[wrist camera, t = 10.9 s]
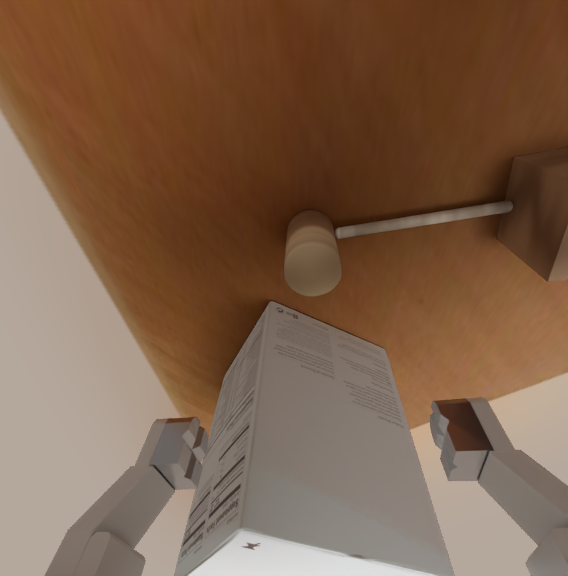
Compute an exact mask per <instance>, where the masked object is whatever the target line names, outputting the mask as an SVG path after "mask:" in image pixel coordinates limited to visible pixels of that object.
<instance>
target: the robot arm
mask: <svg viewBox="0 0 568 576" xmlns="http://www.w3.org/2000/svg"><path fill="white" fill-rule="evenodd" d="M431 408H432V410H433V413H432V414H431V415H430V427H431V433H432V436H433V439H434V442H435V445H436V446H438V447H439V448H440V449H441V450H442V452H441V458H440V459H441V462H442V464H443V467H444V470H445V473H446V476H447V478H448V481H478V483H479V484H480V485H481V486H482V487H483V488H484V489H485V490H486V491H487V493H488V494H489V495H490V496H491V497H492V498H493V499H494V500H495V501H496V502H497V503H498V504H499V505H500V506H501V507H502V508H503V509H504V510H505V511H506V512H507V513H508V515H510V516H511V518H512V519H513V520H514V521H515V522H516V523H517V524H518V525H519V526H520V527H521V528H522V529H523V530H524V531H525V532H526V533H527V534H528V535H529V536H530V537H531V538H532V540H533V541H534V542H535V543H536V544H537V545H538V547H537V548H536V549H535V551H534V552H533V553H532V554H531V555H530V556H529V558H528V560H527V562H526V565H527V568H528V570H529V572H530V574H531V576H568V486H567V485H566V484H564V483H563V482H562V481H560V480H559V479H558V478H557V477H555V476H554V475H553V474H551V473H550V472H549V471H548V470H546V469H545V468H543V467H542V466H541V465H540V464H538V463H537V462H536V461H534V460H533V459H532V458H531V457H529V456H528V455H527V454H525V453H524V452H523V451H521V450H515V449H514V447H513V445H512V444H511V442H510V440H509V438H508V437H507V435H506V433H505V431H504V429H503V428H502V426H501V424H500V422H499V421H498V419H497V417H496V415H495V413H494V412H493V410H492V408H491V407H490V405H489V403H488V401H487V400H486V399H485V398H482V397H481V398H468V399H465V398H464V399H452V400H440V401H433V402H432V407H431ZM207 448H208V435H207V432H206V430H205V429H204V428H202V427H201V426H200V420H199V419H198V418H197V417H188V418H170V419H157V420H156V421H155V422H154V423H153V424H152V426H151V429H150V431H149V434H148V436H147V438H146V441H145V443H144V445H143V448H142V450H141V452H140V455H139V457H138V460H137V462H136V464H135V466H132V467H130V468H129V469H128V470H127V471H126V472H125V473H124V474H123V475H122V476H121V477H120V478H119V479H118V480H117V481H116V482H115V483H114V484H113V485H112V486H111V487H110V488H109V489H108V490H107V491H106V492H105V493H104V494H103V495H102V496H101V497H100V498H99V499H98V500H97V501H96V502H95V503H94V504H93V505H92V506H91V507H90V508H89V510H87V511H86V512H85V513H84V514H83V515H82V516H81V518H79V519H78V520H77V522H76V523H75V524H74V525H73V526H72V527H71V528H70V529H69V530H68V531H67V533H66V535H65V537H64V539H63V541H62V543H61V545H60V547H59V549H58V551H57V553H56V554H55V556H54V559H53V560H52V562H51V564H50V566H49V568H48V570H47V572H46V574H45V576H141V574H142V571H143V568H144V564H145V558H144V556H143V555H141V554H140V553H138V552H137V551H135V550H134V548H135V546H136V545H137V544H138V542H139V541H140V540H141V538H142V537H143V535H144V534H145V533H146V531H147V530H148V528H149V527H150V525H151V524H152V523H153V522H154V520H155V519H156V517H157V516H158V514H159V513H160V512H161V510H162V509H163V508H164V506H165V505H166V503H167V502H168V501H169V499H170V498H171V497H172V495H173V494H174V492H175V490H180V489H197V488H198V485H199V481H200V477H201V473H202V469H203V468H202V465H201V463H200V462H201V460H202V459H203V458H204V457H205V456H206V453H207Z"/></svg>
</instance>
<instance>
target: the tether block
mask: <svg viewBox="0 0 568 576" xmlns="http://www.w3.org/2000/svg"><path fill="white" fill-rule="evenodd" d="M500 213H502V215H501V220H500V224H499V229H498V234H497V239H498V240H499V241H500V242H501V243H502V244H504V245H505V246H506V247H507V248H508V249H510V250H511V251H512V252H513V253H514V254H515V255H517V256H518V257H519V258H520V259H521V260H523V261H524V262H525V263H526V264H527V265H528V266H530V267H531V268H532V269H533V270H534V271H536V272H537V273H538V274H539V275H540V276H541V277H543V278H544V279H545V280H546V281H547V282H551V281H559V280H567V279H568V147H566V148H561V149H555V150H549V151H544V152H538V153H533V154H527V155H522V156H516V157H514V159H513V163H512V168H511V173H510V177H509V182H508V187H507V191H506V196H505V201H502V202H495V203H489V204H483V205H477V206H471V207H464V208H458V209H452V210H446V211H439V212H433V213H427V214H421V215H415V216H408V217H402V218H396V219H390V220H384V221H377V222H371V223H365V224H359V225H353V226H346V227H340V228H337V229H336V230H335V232H334V229H333V225H332V222H331V220H330V219H329V218H328V217H327V216H326V215H325V214H324V213H322V212H320V211H316V210H306V211H302V212H300V213H298V214H297V215H295V216H294V217H293V218H292V219H291V221H290V222H289V225H288V228H287V239H286V251H285V263H284V278H285V281H286V283H287V284H288V286H289V287H290V288H291V289H292V290H294V291H295V292H297V293H299V294H301V295H305V296H320V295H323V294H326V293H328V292H330V291H331V290H332V289H334V288H335V287H336V285H337V284H338V283H339V281H340V279H341V275H342V267H341V262H340V257H339V253H338V248H337V243H336V239H335V236H336V237H337V238H347V237H353V236H359V235H366V234H372V233H379V232H385V231H391V230H398V229H404V228H411V227H417V226H423V225H430V224H436V223H443V222H449V221H456V220H462V219H468V218H475V217H481V216H488V215H494V214H500Z"/></svg>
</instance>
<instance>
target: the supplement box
mask: <svg viewBox="0 0 568 576" xmlns="http://www.w3.org/2000/svg"><path fill="white" fill-rule="evenodd" d="M202 468H203V469H202V473H201V477H200V481H199V485H198V488H197V489H196V490H195V494H194V498H193V502H192V506H191V510H190V514H189V517H188V521H187V526H186V530H185V533H184V537H183V542H182V545H181V549H180V554H179V557H178V561H177V565H176V570H175V575H174V576H455V575H454V572H453V568H452V565H451V562H450V559H449V555H448V552H447V549H446V547H445V543H444V540H443V537H442V534H441V530H440V527H439V524H438V521H437V517H436V514H435V511H434V508H433V505H432V501H431V498H430V495H429V492H428V488H427V485H426V482H425V478H424V475H423V472H422V468H421V465H420V462H419V459H418V455H417V452H416V449H415V446H414V442H413V439H412V436H411V432H410V429H409V426H408V422H407V419H406V416H405V413H404V409H403V406H402V403H401V399H400V396H399V393H398V389H397V386H396V383H395V380H394V376H393V373H392V370H391V366H390V363H389V359H388V356H387V352H386V350H385V349H383V348H381V347H379V346H377V345H374V344H372V343H370V342H367V341H365V340H363V339H360V338H358V337H355V336H353V335H351V334H349V333H346V332H344V331H342V330H339V329H337V328H335V327H332V326H330V325H328V324H325V323H323V322H321V321H318V320H316V319H313V318H311V317H309V316H306V315H304V314H302V313H299V312H297V311H295V310H292V309H290V308H288V307H285V306H283V305H281V304H278V303H276V302H273V301H270V302H269V304H268V306H267V307H266V309H265V311H264V312H263V314H262V315H261V317H260V319H259V320H258V322H257V324H256V325H255V327H254V328H253V330H252V332H251V333H250V335H249V337H248V338H247V340H246V342H245V343H244V345H243V346H242V348H241V350H240V351H239V353H238V354H237V356H236V358H235V359H234V361H233V363H232V364H231V366H230V368H229V369H228V371H227V373H226V374H225V376H224V379H223V383H222V387H221V391H220V395H219V399H218V403H217V406H216V410H215V414H214V418H213V422H212V426H211V430H210V434H209V438H208V448H207V453H206V456H205V457H204V458H203V463H202Z"/></svg>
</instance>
